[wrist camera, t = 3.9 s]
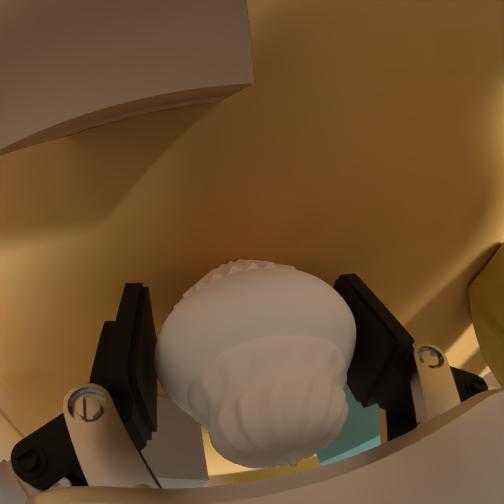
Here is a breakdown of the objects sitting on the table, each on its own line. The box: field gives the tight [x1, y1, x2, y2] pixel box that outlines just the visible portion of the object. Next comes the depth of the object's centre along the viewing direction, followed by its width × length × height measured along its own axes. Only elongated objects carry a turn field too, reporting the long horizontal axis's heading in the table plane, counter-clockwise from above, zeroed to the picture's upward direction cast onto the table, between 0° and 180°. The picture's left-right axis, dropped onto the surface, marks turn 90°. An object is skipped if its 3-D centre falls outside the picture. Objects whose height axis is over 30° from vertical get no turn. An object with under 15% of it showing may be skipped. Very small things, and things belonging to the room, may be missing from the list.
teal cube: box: [316, 383, 380, 466], centre depth 14 cm, size 5×5×5 cm
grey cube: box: [141, 396, 209, 489], centre depth 12 cm, size 5×5×5 cm
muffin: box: [154, 259, 356, 469], centre depth 8 cm, size 6×6×7 cm
